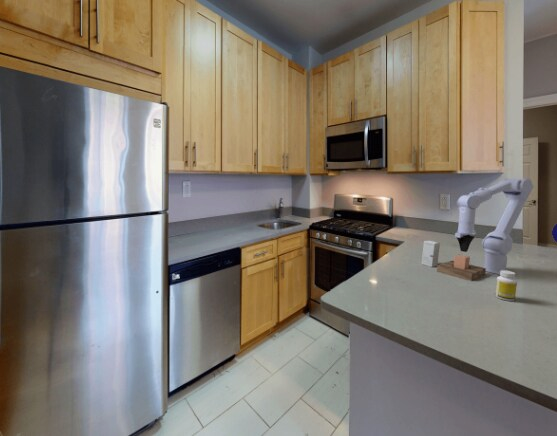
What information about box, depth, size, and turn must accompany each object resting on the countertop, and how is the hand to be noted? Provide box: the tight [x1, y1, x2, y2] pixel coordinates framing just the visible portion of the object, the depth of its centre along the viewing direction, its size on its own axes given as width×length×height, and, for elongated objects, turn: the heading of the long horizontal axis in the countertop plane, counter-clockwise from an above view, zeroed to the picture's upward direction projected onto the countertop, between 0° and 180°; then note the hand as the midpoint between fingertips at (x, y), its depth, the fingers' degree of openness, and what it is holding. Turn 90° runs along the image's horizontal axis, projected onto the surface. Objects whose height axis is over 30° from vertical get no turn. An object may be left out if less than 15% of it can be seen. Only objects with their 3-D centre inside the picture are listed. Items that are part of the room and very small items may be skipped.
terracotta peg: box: [453, 254, 471, 270], centre depth 118 cm, size 4×4×8 cm
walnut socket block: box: [436, 260, 487, 282], centre depth 119 cm, size 14×14×3 cm
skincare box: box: [421, 240, 441, 268], centre depth 130 cm, size 6×4×12 cm
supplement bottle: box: [494, 269, 518, 302], centre depth 92 cm, size 5×5×10 cm
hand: (463, 251), depth 117 cm, fingers closed
